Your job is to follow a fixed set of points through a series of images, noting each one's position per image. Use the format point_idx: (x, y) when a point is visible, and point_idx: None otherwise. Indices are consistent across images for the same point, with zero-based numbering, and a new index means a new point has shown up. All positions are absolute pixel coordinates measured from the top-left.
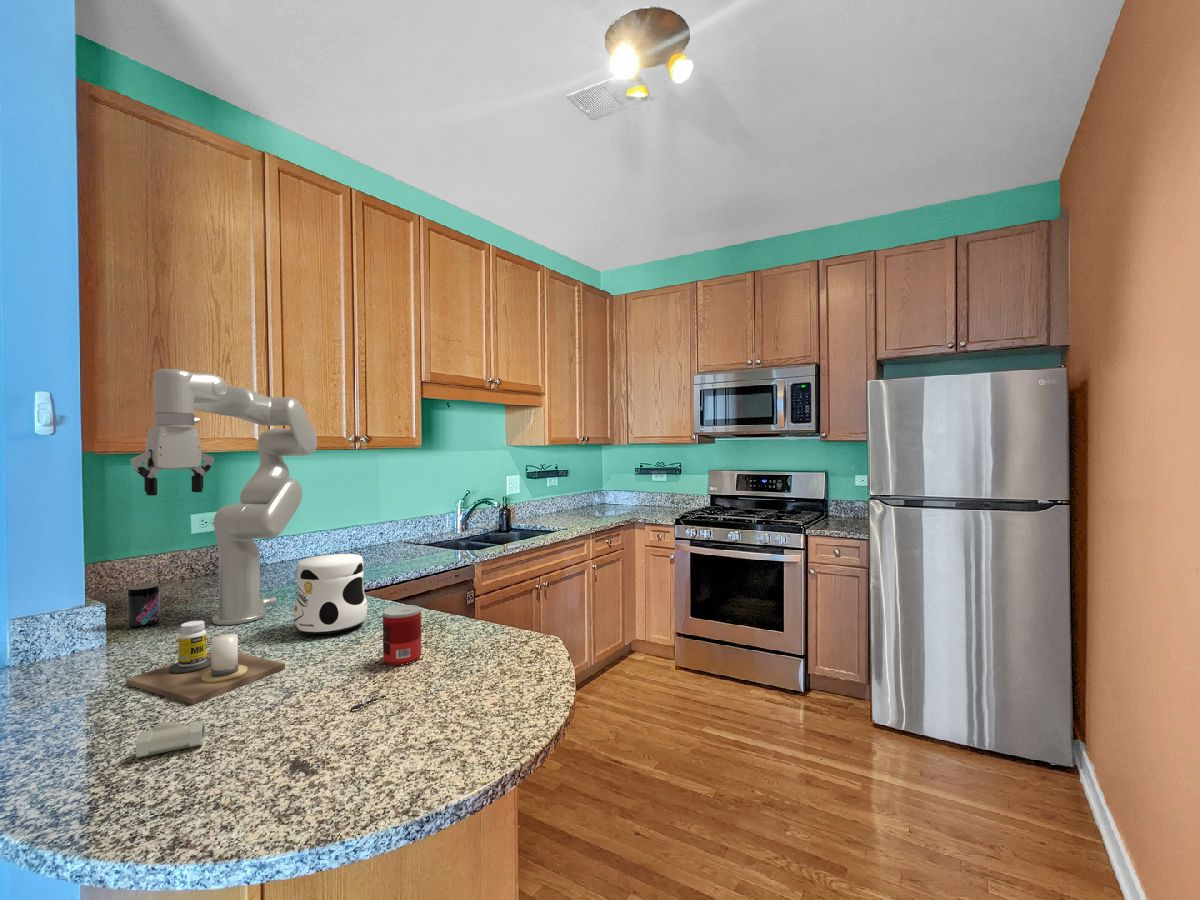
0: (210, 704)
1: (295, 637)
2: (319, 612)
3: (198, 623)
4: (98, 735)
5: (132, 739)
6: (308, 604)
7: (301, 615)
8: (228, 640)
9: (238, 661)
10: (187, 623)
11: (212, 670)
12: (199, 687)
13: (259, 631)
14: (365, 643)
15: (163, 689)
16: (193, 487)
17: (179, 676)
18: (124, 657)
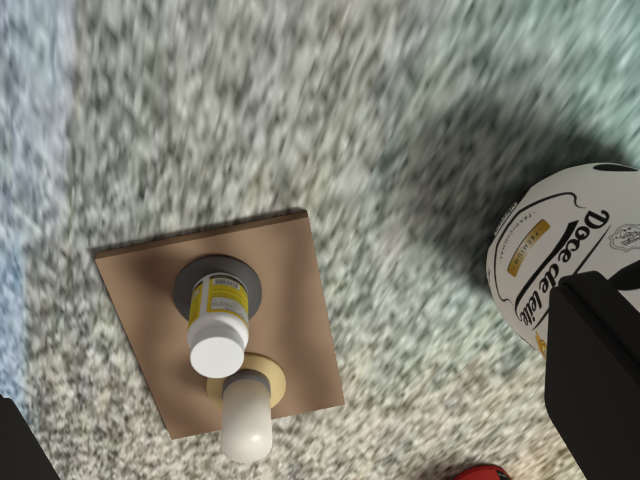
0: (194, 443)
1: (475, 233)
2: (519, 335)
3: (226, 370)
4: (41, 437)
5: (80, 476)
6: (520, 323)
7: (498, 292)
8: (245, 461)
9: (295, 332)
10: (207, 350)
11: (222, 399)
12: (193, 405)
13: (464, 95)
14: (514, 382)
15: (143, 371)
16: (578, 357)
17: (182, 328)
18: (120, 8)
